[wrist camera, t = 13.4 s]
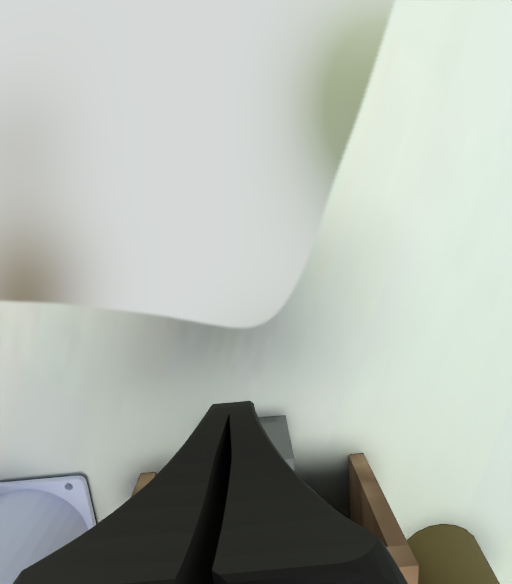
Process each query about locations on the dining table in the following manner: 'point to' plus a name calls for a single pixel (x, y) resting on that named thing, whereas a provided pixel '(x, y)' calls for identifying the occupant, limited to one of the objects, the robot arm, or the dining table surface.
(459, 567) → the cork
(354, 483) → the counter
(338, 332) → the dining table surface
